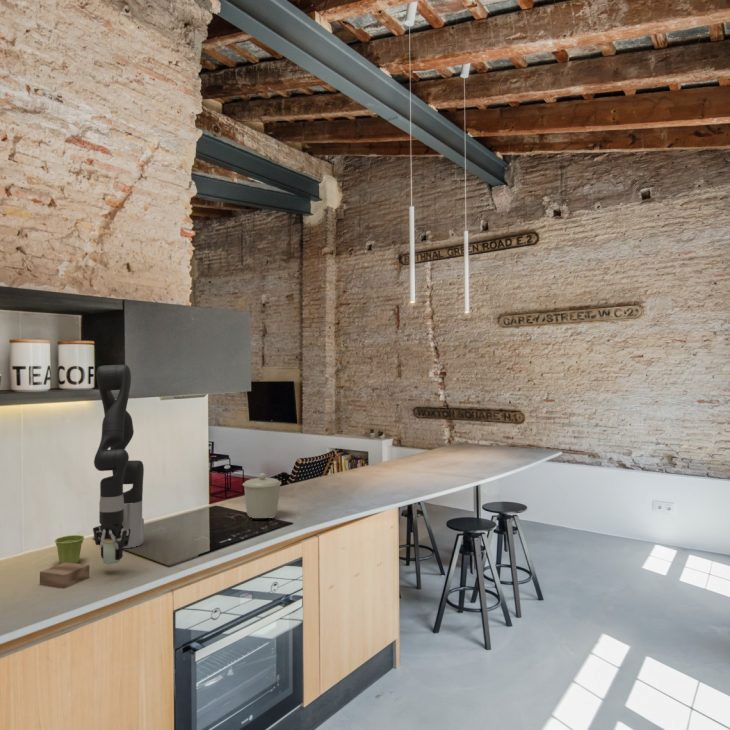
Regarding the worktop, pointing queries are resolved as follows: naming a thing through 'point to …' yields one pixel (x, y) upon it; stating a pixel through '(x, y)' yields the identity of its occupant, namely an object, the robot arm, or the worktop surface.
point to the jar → (109, 551)
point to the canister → (262, 496)
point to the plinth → (64, 574)
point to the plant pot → (69, 548)
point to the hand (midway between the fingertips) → (111, 558)
